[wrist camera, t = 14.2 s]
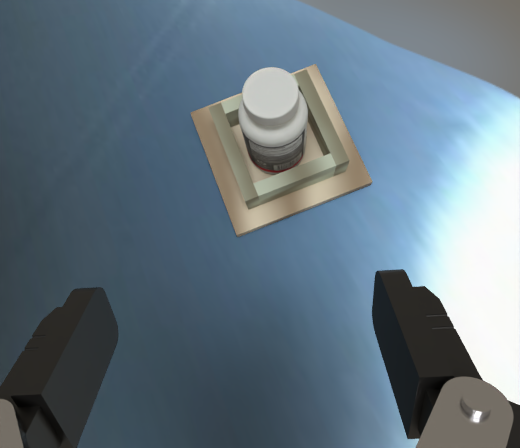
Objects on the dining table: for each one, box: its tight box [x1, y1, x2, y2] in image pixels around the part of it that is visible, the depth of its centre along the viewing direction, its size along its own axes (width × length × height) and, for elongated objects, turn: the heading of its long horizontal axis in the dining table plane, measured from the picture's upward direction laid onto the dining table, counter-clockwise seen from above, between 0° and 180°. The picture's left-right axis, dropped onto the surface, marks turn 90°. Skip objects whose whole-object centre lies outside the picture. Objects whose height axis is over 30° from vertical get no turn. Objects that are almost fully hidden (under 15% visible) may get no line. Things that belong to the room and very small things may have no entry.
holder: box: [191, 64, 372, 237], centre depth 37 cm, size 13×13×4 cm
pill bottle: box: [238, 67, 308, 174], centre depth 33 cm, size 5×5×10 cm
